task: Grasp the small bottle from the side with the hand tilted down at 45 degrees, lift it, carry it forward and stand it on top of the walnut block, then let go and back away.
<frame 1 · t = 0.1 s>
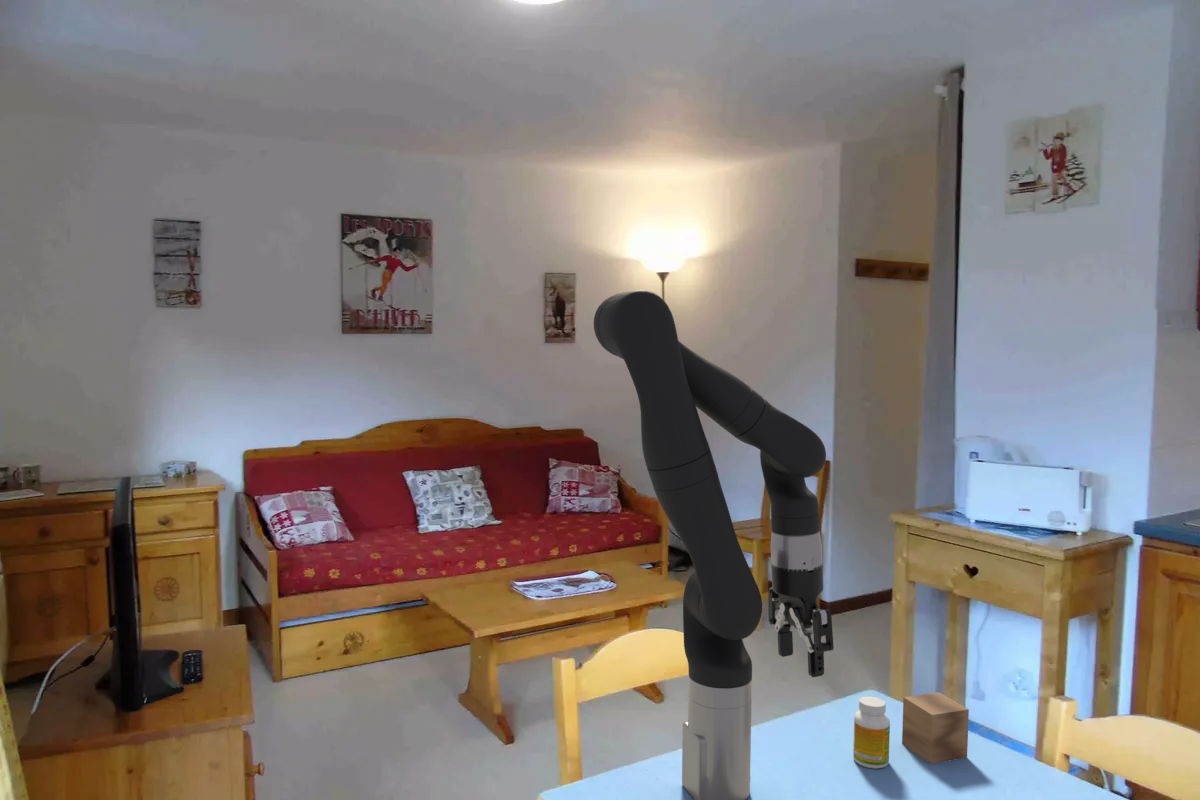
hand: (800, 665, 127), 17 cm above the table, tool pointing down, fingers open, 8 cm apart
walnut block: (934, 751, 137), on the table
supplement bottle: (870, 762, 133), on the table
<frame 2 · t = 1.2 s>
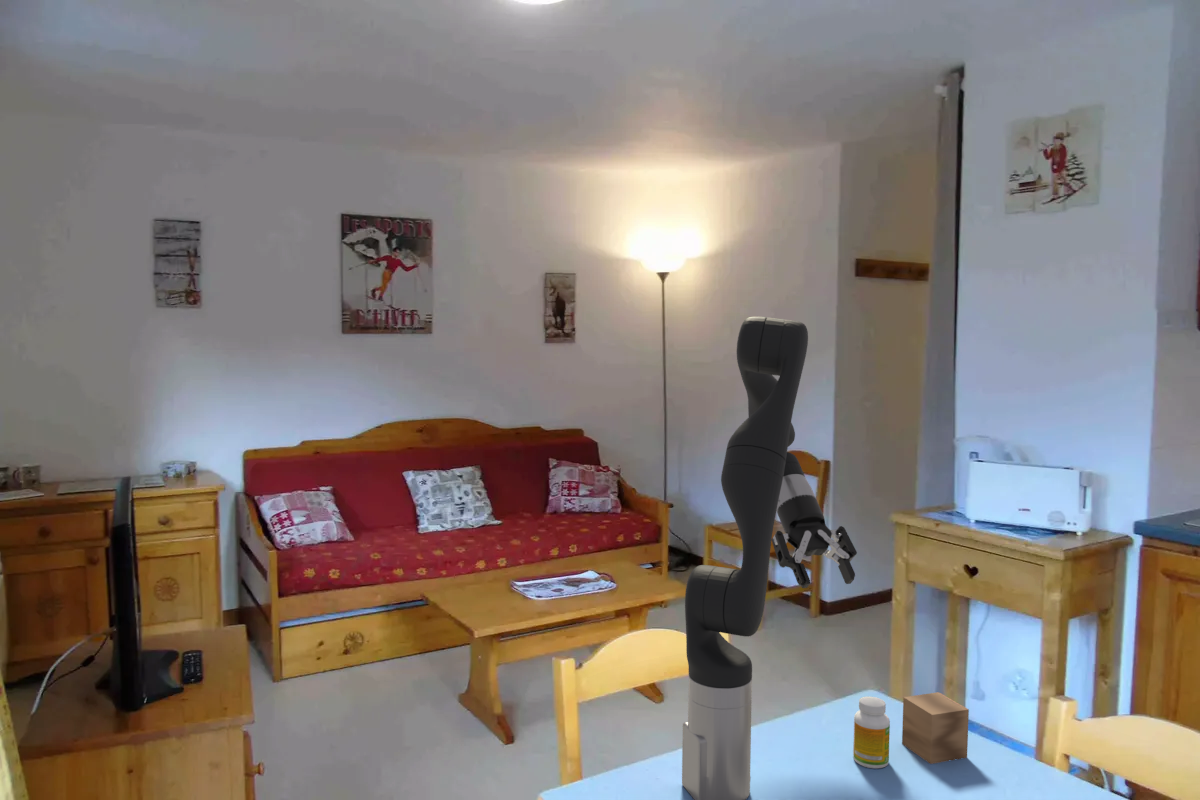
hand: (828, 583, 145), 25 cm above the table, tool tilted 45°, fingers open, 8 cm apart
nothing on the table moved.
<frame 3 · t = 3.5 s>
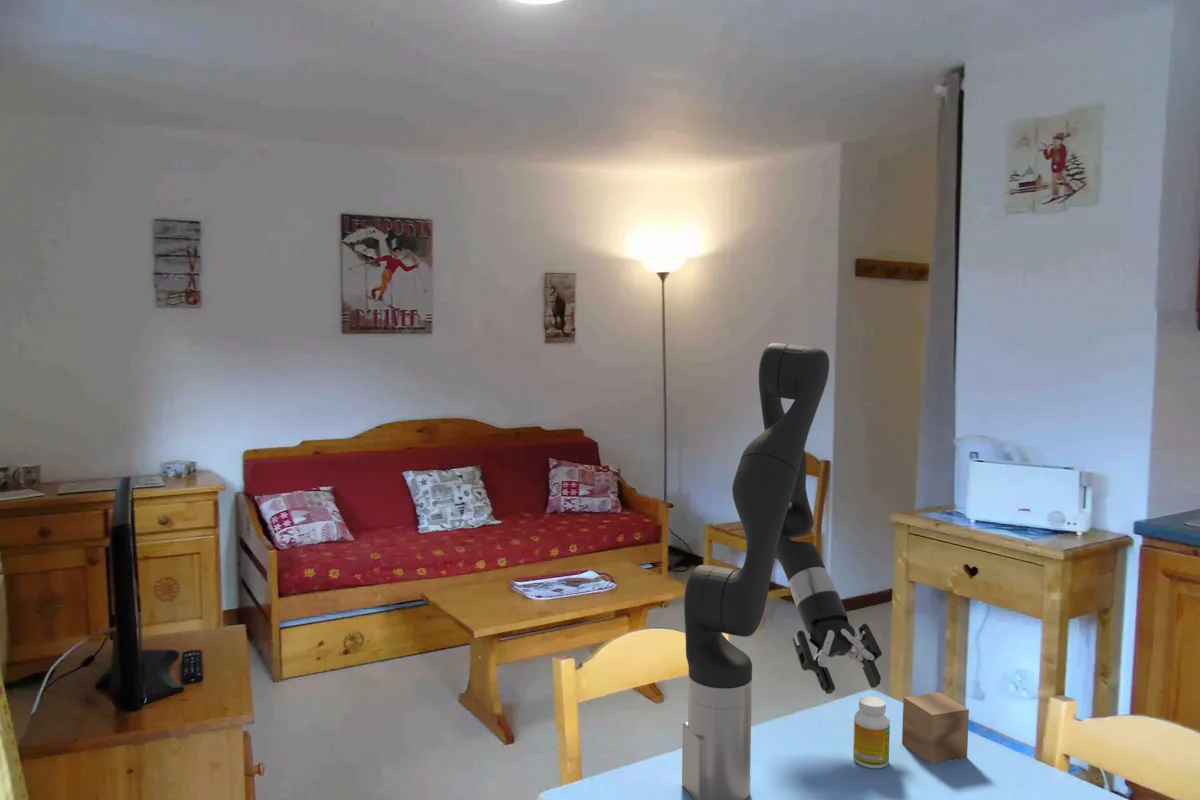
hand: (853, 688, 138), 10 cm above the table, tool tilted 45°, fingers open, 8 cm apart
nothing on the table moved.
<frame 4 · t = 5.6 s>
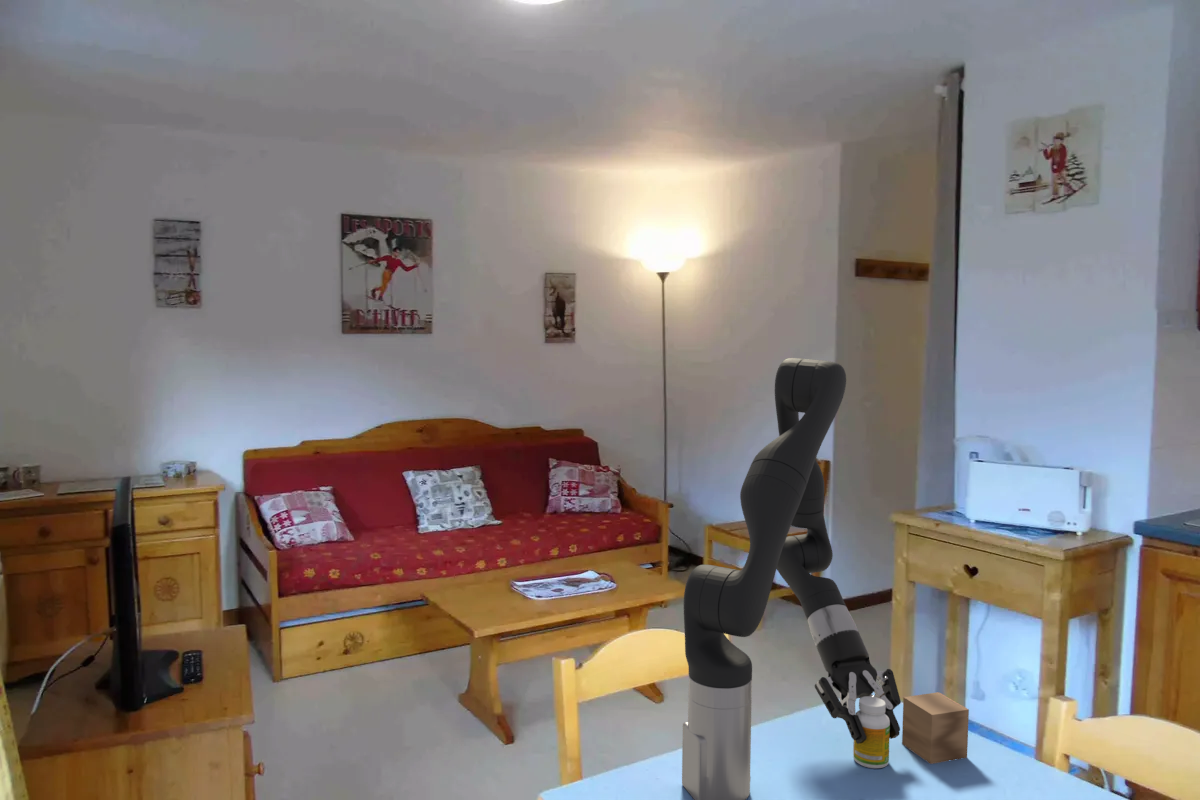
hand: (878, 738, 131), 4 cm above the table, tool tilted 45°, fingers closed on supplement bottle, 5 cm apart
supplement bottle: (870, 762, 133), on the table, touching gripper
everything else where it was.
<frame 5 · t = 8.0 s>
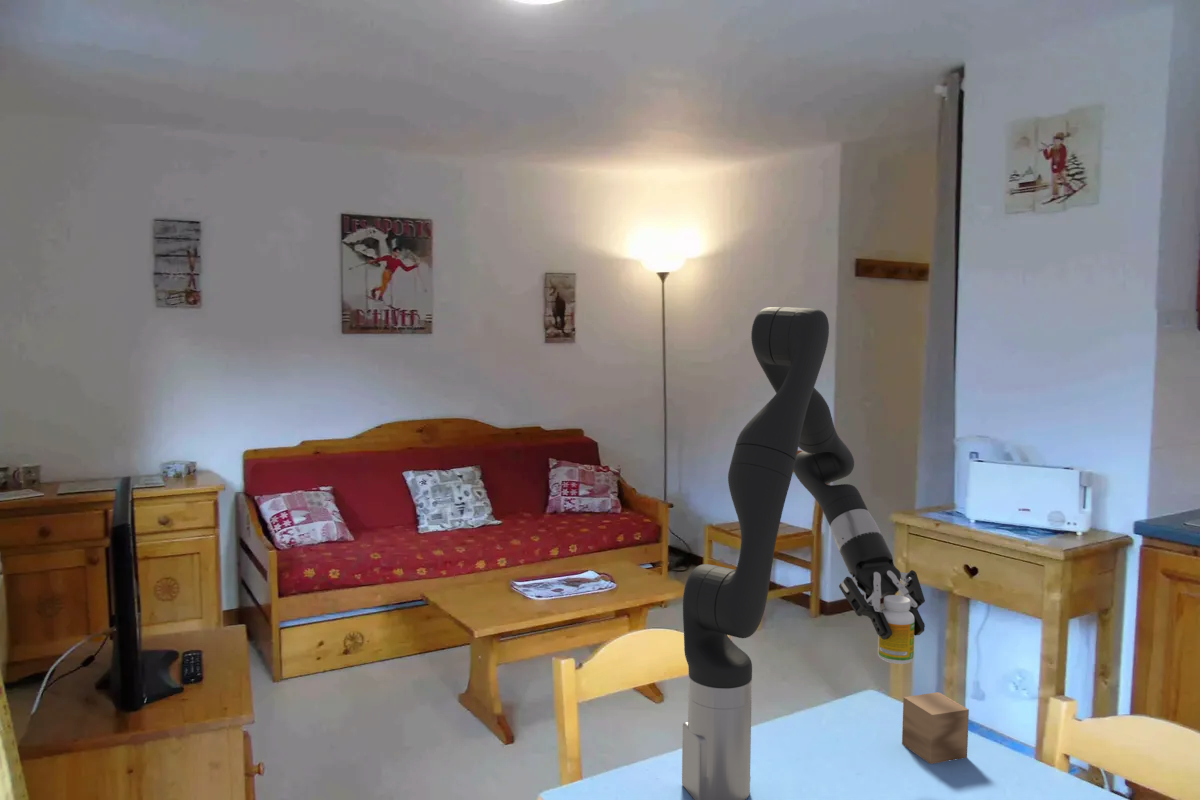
hand: (904, 634, 132), 20 cm above the table, tool tilted 45°, fingers closed on supplement bottle, 5 cm apart
supplement bottle: (895, 659, 134), point 16 cm above the table, touching gripper
everything else where it was.
when the fingers open (14 cm above the table, at t = 10.4 s): supplement bottle drops 1 cm, resting on walnut block.
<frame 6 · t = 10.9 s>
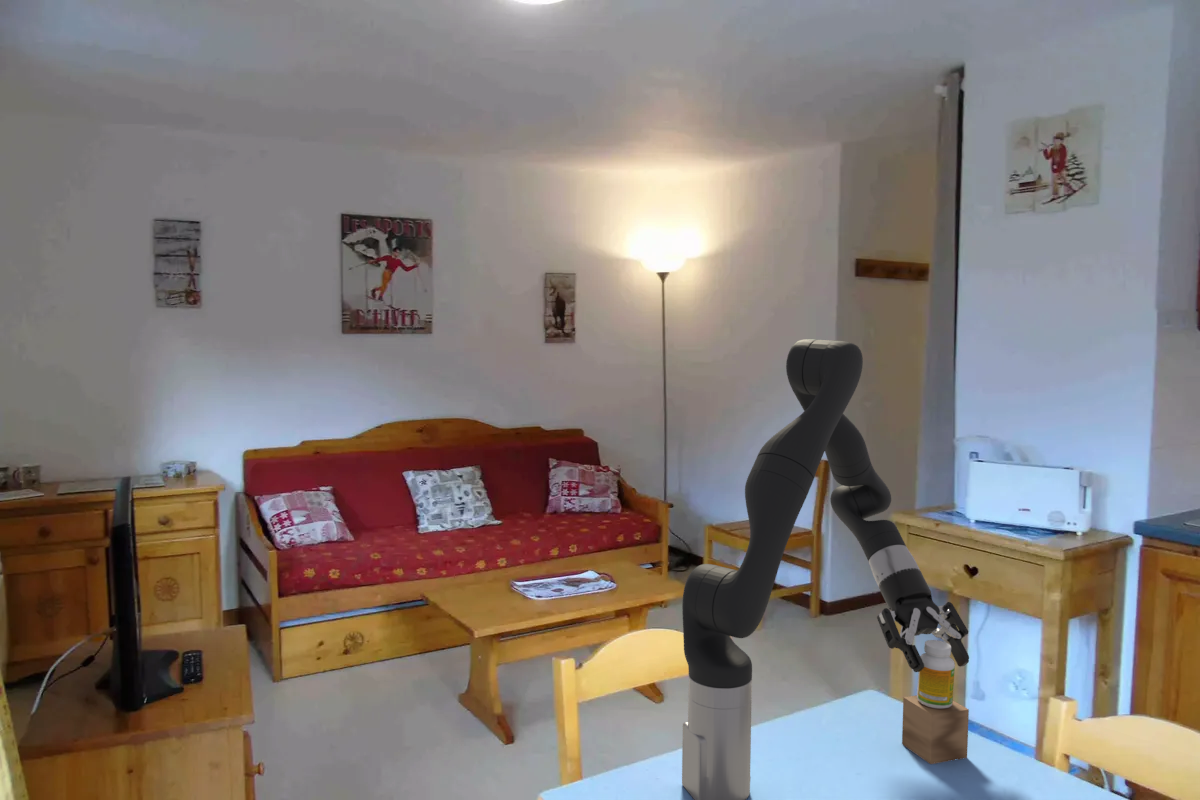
hand: (942, 667, 135), 14 cm above the table, tool tilted 45°, fingers open, 8 cm apart
walnut block: (934, 751, 137), on the table, touching supplement bottle
supplement bottle: (934, 703, 137), point 8 cm above the table, touching walnut block
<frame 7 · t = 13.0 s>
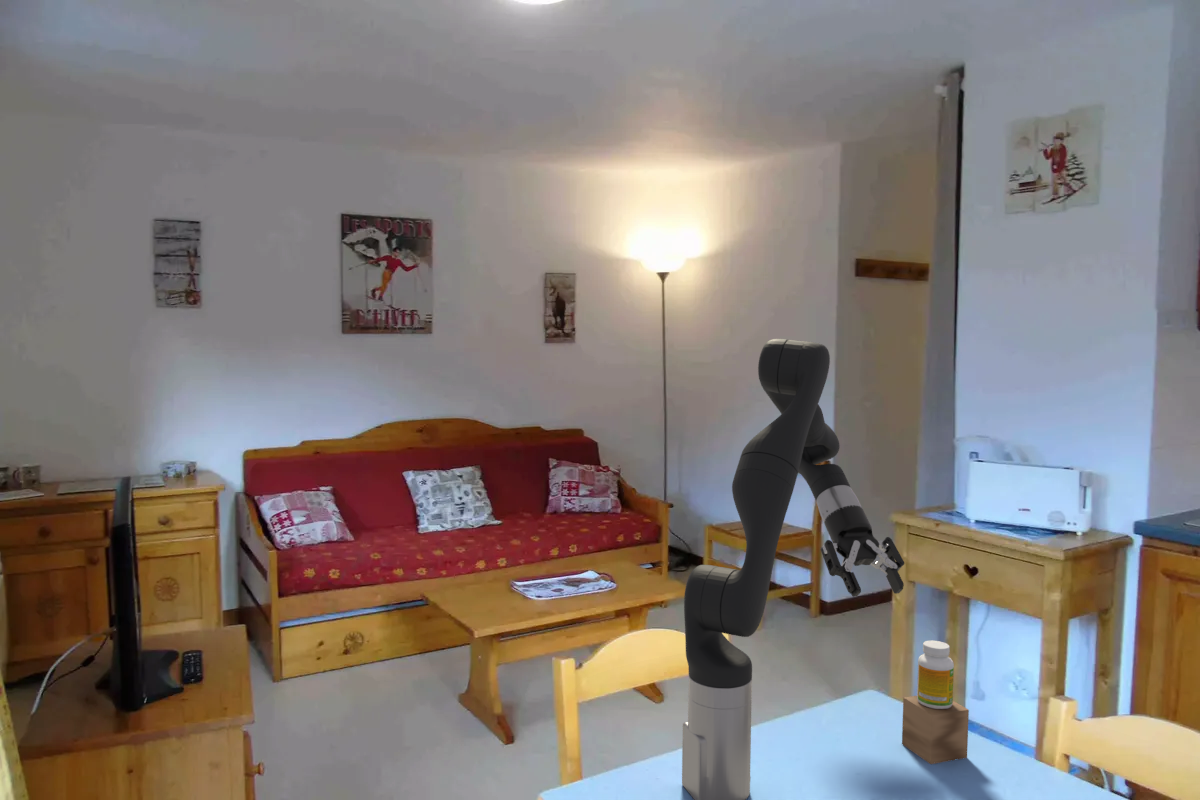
hand: (878, 592, 147), 23 cm above the table, tool tilted 45°, fingers open, 8 cm apart
nothing on the table moved.
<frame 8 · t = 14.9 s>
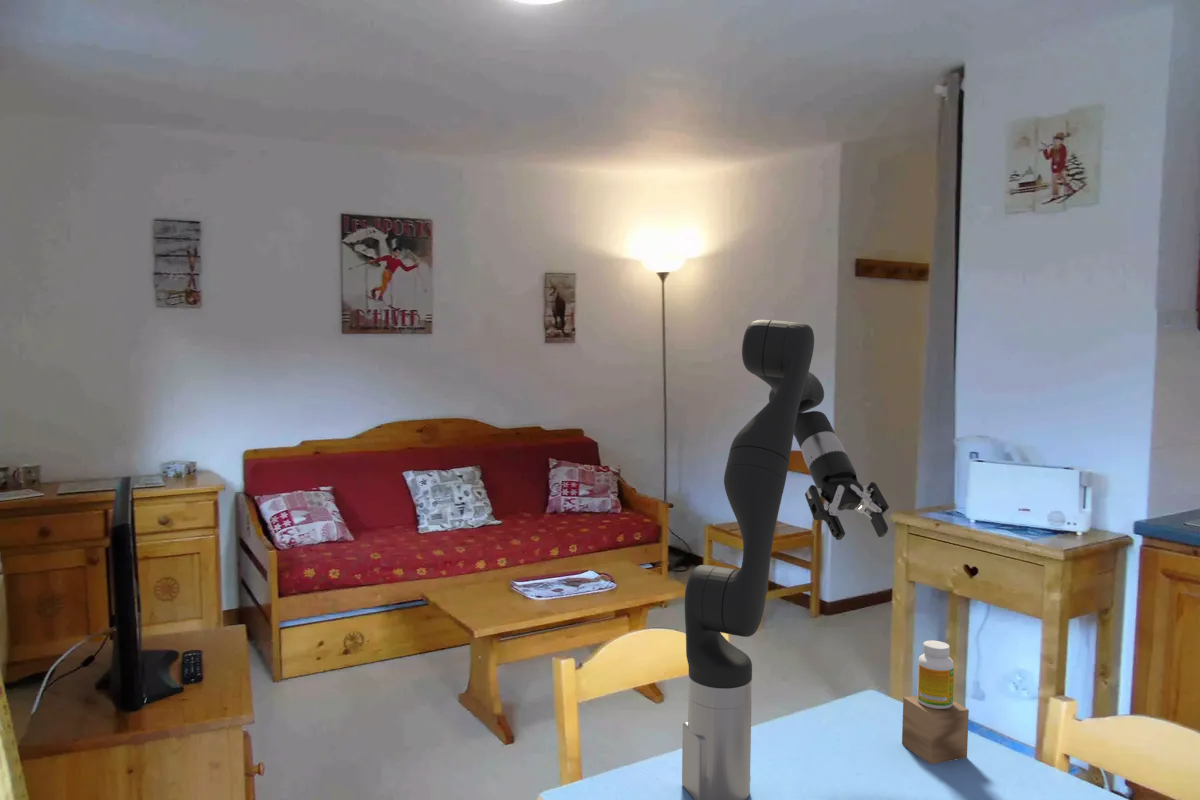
hand: (862, 536, 146), 33 cm above the table, tool tilted 45°, fingers open, 8 cm apart
nothing on the table moved.
at the end: supplement bottle 0.2 cm off-centre on the walnut block, point 7.8 cm above the walnut block's base; supplement bottle tilted 0°; the gripper is holding nothing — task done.
